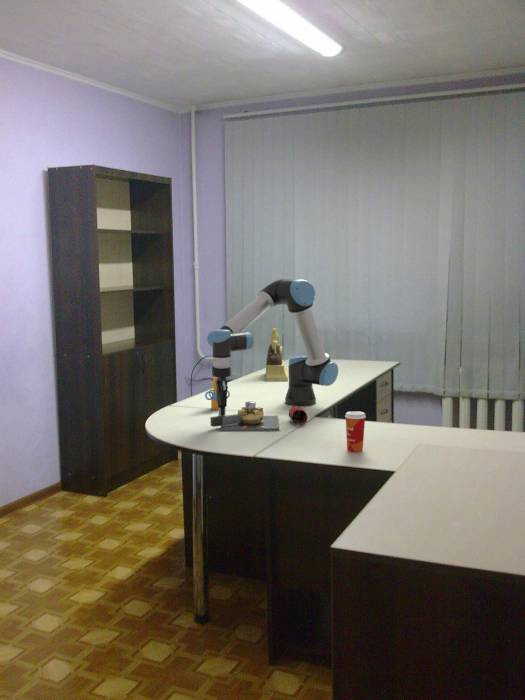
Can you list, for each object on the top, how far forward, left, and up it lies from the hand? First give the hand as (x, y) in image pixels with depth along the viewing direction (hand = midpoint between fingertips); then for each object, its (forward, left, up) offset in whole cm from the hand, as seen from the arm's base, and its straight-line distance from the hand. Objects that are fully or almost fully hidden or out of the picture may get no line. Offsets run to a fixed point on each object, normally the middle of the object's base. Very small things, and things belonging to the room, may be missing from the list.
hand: (222, 422), depth 301 cm
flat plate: (-12, -5, -2) cm, 13 cm away
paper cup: (-51, +38, -2) cm, 64 cm away
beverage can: (-32, -9, -3) cm, 33 cm away
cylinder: (+4, -38, -2) cm, 38 cm away
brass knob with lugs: (-6, -1, -1) cm, 7 cm away
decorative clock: (-26, -128, -3) cm, 131 cm away
